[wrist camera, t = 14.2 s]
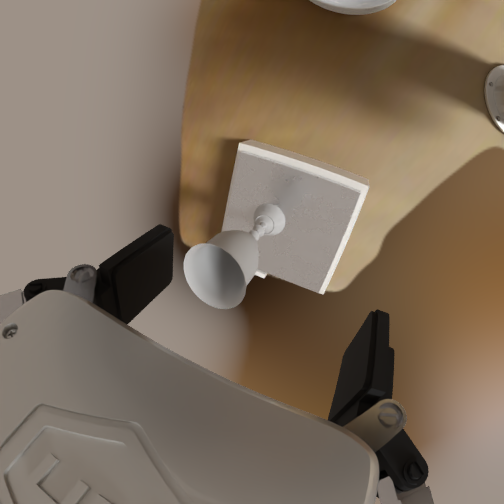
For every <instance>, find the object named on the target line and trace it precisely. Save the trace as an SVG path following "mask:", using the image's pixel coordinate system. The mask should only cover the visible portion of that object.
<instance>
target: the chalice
mask: <svg viewBox="0 0 504 504" xmlns="http://www.w3.org/2000/svg"><path fill="white" fill-rule="evenodd" d="M253 219H254V220H253V221H254V227H253V229H252V230H250V231H249V233H248V232H244V231H240V230H230V231H223V232H221V233H218V234H217V235H215V236H214V237H213V238H212V239H210V240H209V241H208V242H207V243H205V244H198V245H196V246H194V247H192V248H191V249H190V250H189V251H188V252H187V254H186V257H185V260H184V273H185V276H186V280H187V282H188V284H189V286H190V287H191V289H192V291H193V292H194V293H195V294H196V295H197V296H198V297H199V298H200V299H201V300H203V301H204V302H205V303H207V304H208V305H211V306H213V307H216V308H221V309H228V308H233V307H235V306H237V305H238V304H239V303H240V302H241V301H242V299H243V298H244V296H245V292H246V286H247V284H248V283H249V282H250V280H251V279H252V277H253V276H254V275H255V273H256V271H257V269H258V261H259V250H258V245H257V241H258V240H259V237H262V236H263V235H276V234H279V233H280V232H281V231H282V230H283V228H284V227H285V216H284V214H283V212H282V211H281V209H280V208H279V207H277V206H275V205H273V204H263V205H260V206H259V207H258V208H257V209H256V210H255V212H254V217H253Z"/></svg>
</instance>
